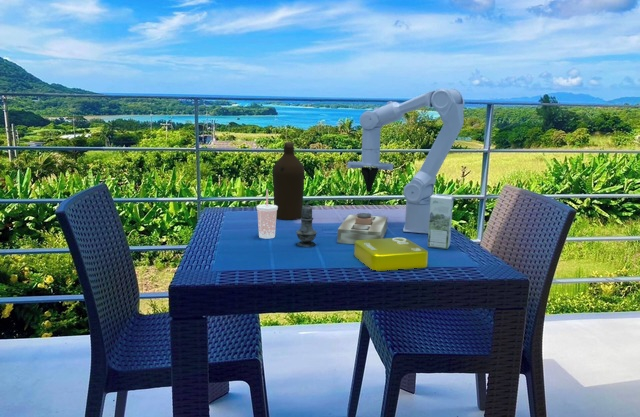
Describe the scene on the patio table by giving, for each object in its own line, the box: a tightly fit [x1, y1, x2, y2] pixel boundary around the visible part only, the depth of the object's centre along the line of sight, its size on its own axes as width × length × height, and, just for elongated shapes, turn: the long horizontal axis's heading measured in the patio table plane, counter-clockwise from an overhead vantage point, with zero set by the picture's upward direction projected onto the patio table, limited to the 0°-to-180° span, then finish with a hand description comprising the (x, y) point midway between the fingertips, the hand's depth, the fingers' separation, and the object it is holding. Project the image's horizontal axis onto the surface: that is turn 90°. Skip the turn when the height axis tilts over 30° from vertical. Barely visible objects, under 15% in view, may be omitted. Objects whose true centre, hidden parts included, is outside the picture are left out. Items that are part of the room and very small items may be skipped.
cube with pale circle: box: [353, 225, 369, 230], centre depth 161 cm, size 4×4×4 cm
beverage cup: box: [256, 188, 278, 240], centre depth 163 cm, size 6×6×14 cm
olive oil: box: [272, 141, 306, 221], centre depth 188 cm, size 11×11×25 cm
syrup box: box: [427, 193, 454, 250], centre depth 157 cm, size 6×6×14 cm
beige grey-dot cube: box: [355, 212, 373, 225], centre depth 166 cm, size 4×4×4 cm
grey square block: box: [336, 214, 388, 245], centre depth 167 cm, size 12×20×4 cm, turn 168°
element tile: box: [353, 237, 429, 272], centre depth 143 cm, size 15×15×5 cm
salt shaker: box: [295, 202, 318, 248], centre depth 155 cm, size 6×6×12 cm
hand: (369, 191), depth 183 cm, fingers closed
